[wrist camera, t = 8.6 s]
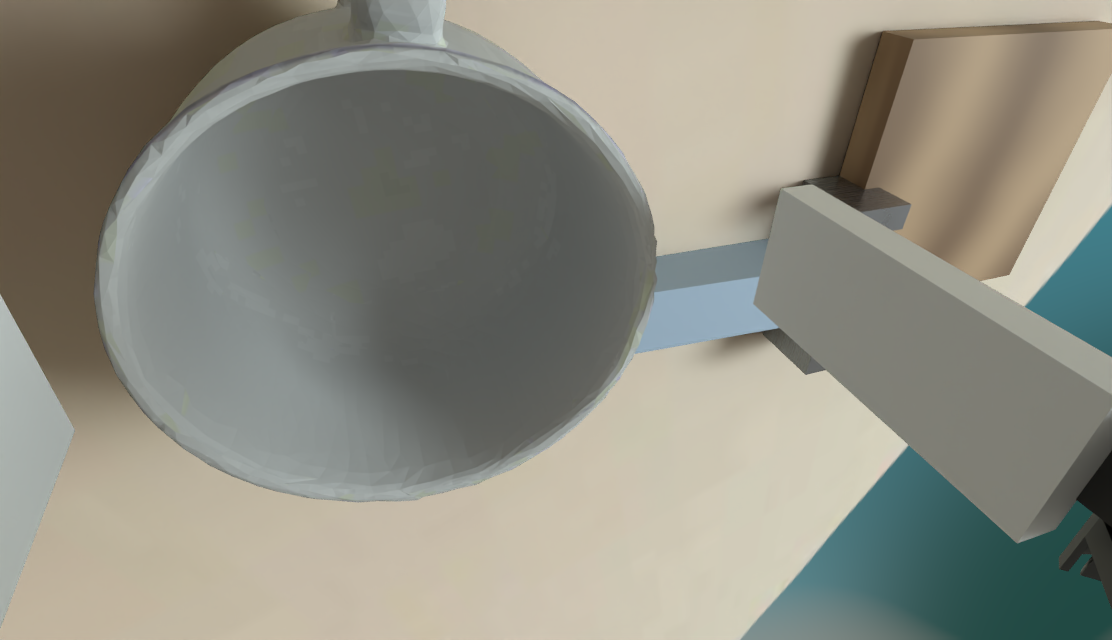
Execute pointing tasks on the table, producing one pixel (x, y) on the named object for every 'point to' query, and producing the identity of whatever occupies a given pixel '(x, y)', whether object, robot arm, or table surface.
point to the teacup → (374, 260)
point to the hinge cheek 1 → (793, 351)
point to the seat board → (976, 130)
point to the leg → (706, 296)
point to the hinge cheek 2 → (866, 200)
